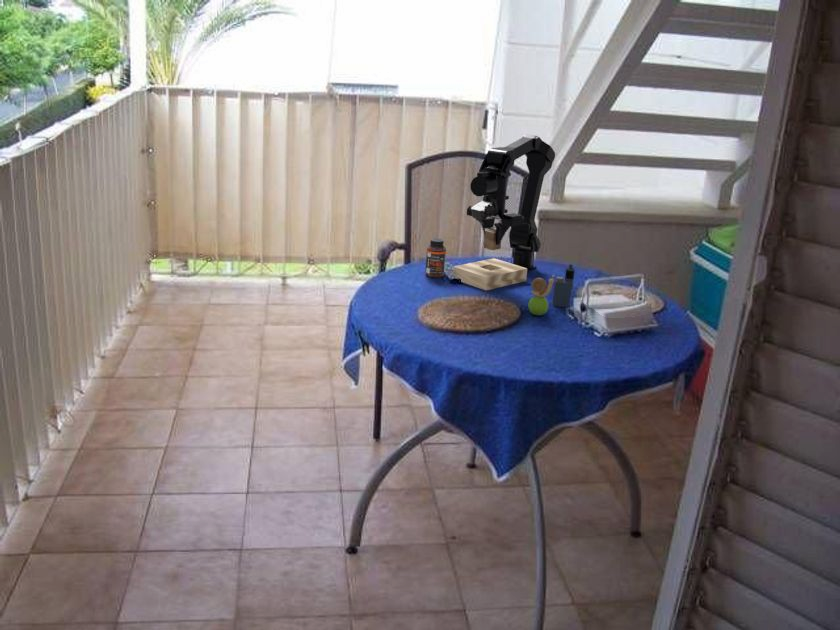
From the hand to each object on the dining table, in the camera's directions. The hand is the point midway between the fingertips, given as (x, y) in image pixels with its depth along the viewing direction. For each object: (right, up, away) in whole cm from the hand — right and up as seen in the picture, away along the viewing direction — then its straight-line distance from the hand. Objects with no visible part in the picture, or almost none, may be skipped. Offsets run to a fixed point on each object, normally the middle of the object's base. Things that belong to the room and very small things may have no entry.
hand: (492, 243), depth 251 cm
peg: (0, -2, 0) cm, 2 cm away
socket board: (-1, -11, +4) cm, 12 cm away
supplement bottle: (-17, -10, +6) cm, 21 cm away
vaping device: (+18, -19, -17) cm, 31 cm away
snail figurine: (+10, -22, -26) cm, 36 cm away
